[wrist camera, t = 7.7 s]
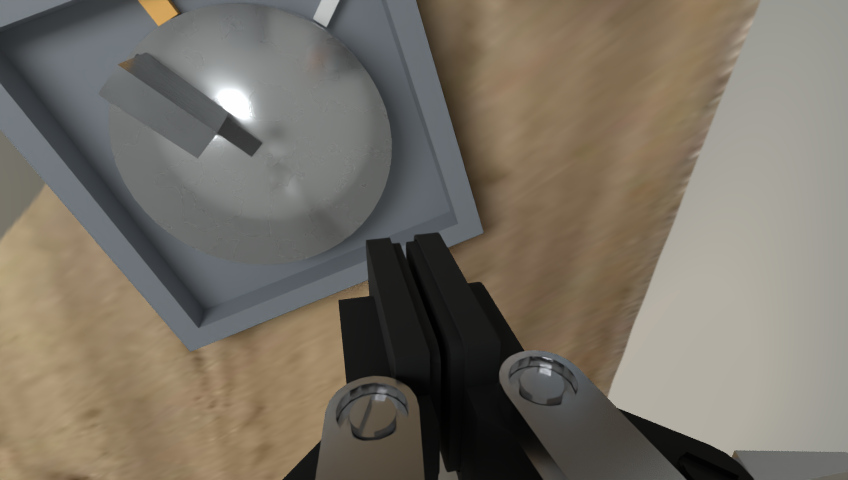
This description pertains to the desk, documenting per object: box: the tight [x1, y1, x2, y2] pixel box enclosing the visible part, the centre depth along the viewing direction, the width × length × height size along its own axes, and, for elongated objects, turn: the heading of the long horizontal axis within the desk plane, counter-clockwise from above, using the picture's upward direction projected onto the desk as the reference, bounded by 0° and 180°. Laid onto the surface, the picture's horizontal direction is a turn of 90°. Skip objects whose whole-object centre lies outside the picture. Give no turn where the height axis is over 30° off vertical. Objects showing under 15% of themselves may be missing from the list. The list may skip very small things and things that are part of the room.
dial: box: [98, 2, 392, 265], centre depth 25 cm, size 15×15×6 cm
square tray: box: [0, 0, 484, 352], centre depth 27 cm, size 22×22×3 cm
